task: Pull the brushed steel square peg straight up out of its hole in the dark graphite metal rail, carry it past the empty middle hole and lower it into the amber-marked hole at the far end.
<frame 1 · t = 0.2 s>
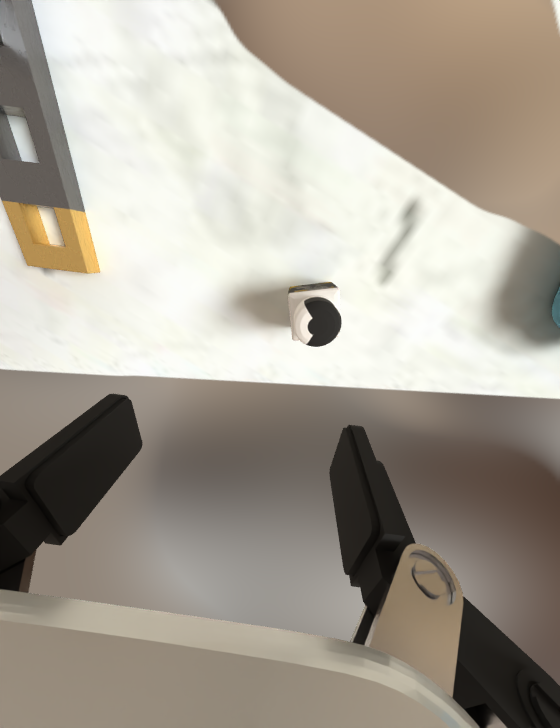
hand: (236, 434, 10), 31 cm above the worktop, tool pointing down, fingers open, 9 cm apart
medicine bottle: (311, 305, 37), on the worktop
rail: (33, 143, 30), on the worktop
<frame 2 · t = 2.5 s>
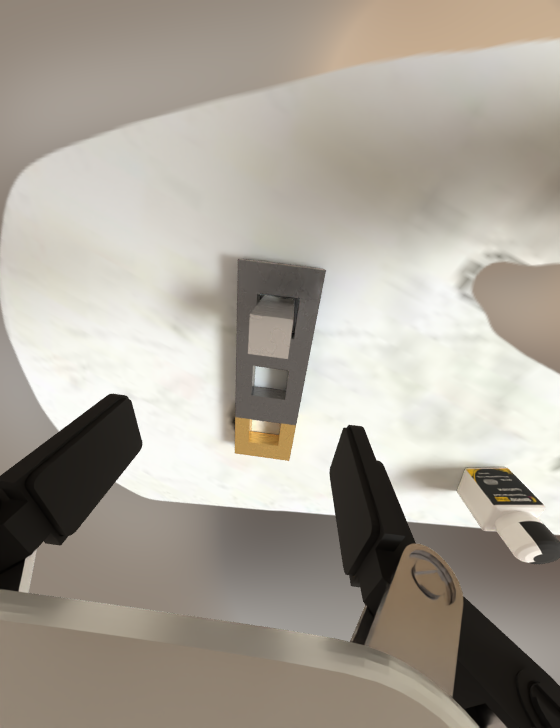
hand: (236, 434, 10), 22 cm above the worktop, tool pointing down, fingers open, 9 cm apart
medicine bottle: (479, 478, 41), on the worktop
rail: (271, 374, 34), on the worktop
steel peg: (278, 312, 29), resting in rail
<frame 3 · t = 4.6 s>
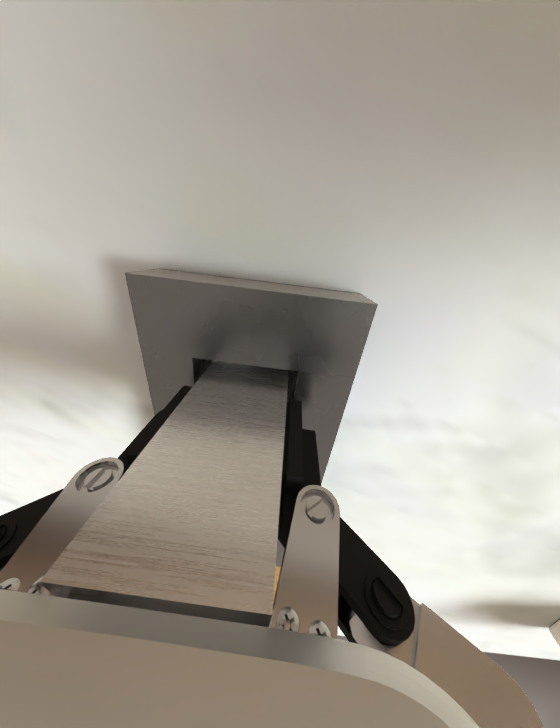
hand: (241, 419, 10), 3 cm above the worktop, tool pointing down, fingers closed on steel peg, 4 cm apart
rail: (247, 482, 18), on the worktop
steel peg: (253, 382, 13), resting in rail, touching gripper
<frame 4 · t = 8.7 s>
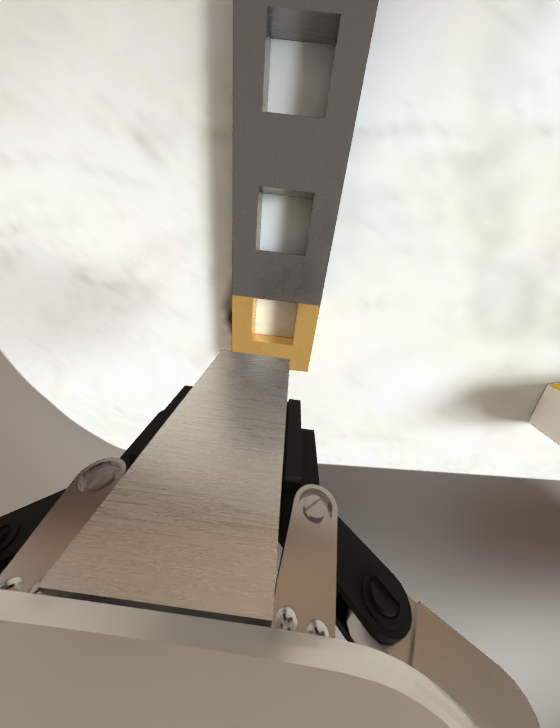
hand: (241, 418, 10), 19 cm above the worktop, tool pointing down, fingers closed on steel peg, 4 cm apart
rail: (284, 225, 23), on the worktop
steel peg: (253, 383, 13), point 16 cm above the worktop, touching gripper
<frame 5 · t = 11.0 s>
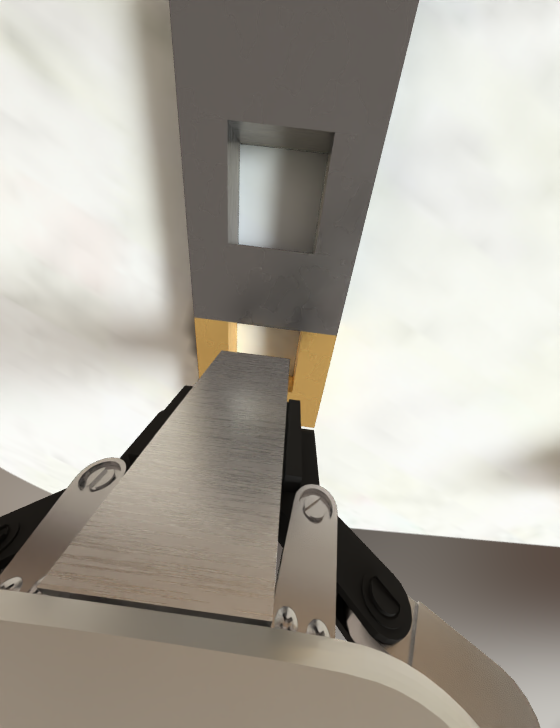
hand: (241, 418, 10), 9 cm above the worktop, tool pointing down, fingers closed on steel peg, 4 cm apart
rail: (279, 203, 14), on the worktop
steel peg: (253, 383, 13), point 6 cm above the worktop, touching gripper
when the fingers open (5 cm above the worktop, at t = 12.7 s): steel peg drops 1 cm, resting in rail.
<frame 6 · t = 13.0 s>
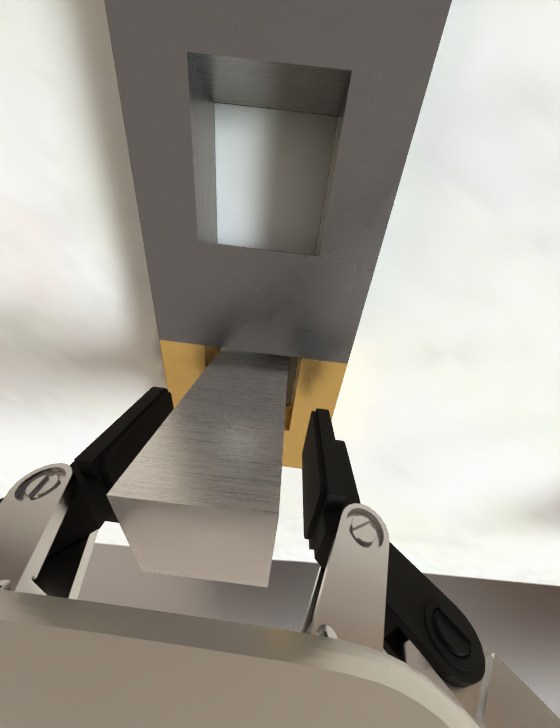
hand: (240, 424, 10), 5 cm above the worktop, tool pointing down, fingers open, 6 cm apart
rail: (270, 187, 10), on the worktop
steel peg: (257, 370, 15), resting in rail
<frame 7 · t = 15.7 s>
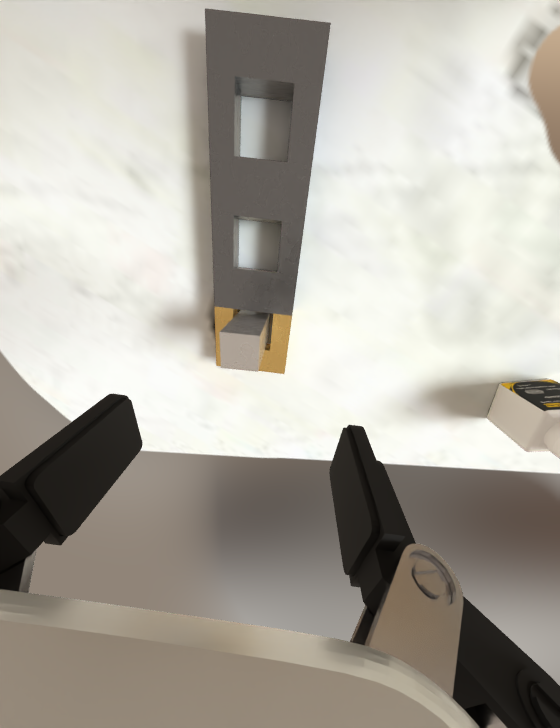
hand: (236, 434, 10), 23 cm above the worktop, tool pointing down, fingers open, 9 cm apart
medicine bottle: (515, 398, 34), on the worktop
rail: (259, 246, 26), on the worktop
steel peg: (255, 324, 31), resting in rail
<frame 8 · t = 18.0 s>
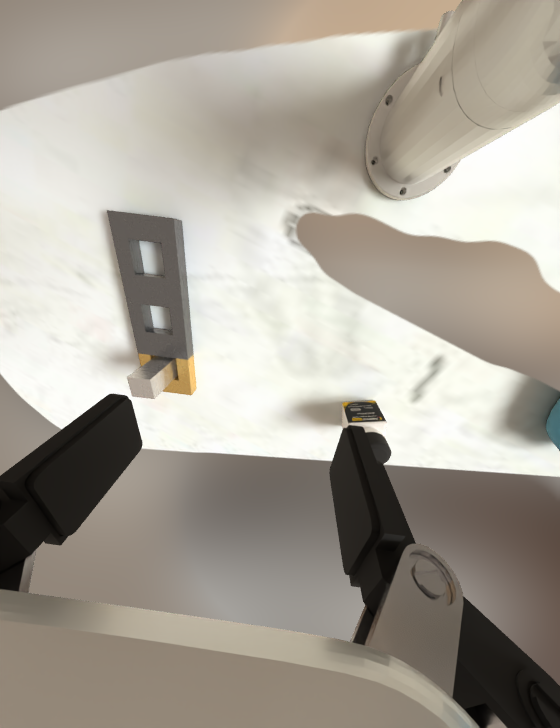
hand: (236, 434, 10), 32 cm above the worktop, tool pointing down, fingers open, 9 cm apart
medicine bottle: (357, 412, 49), on the worktop
rail: (164, 316, 41), on the worktop
steel peg: (171, 362, 46), resting in rail
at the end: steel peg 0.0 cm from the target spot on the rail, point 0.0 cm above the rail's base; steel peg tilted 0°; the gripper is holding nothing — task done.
